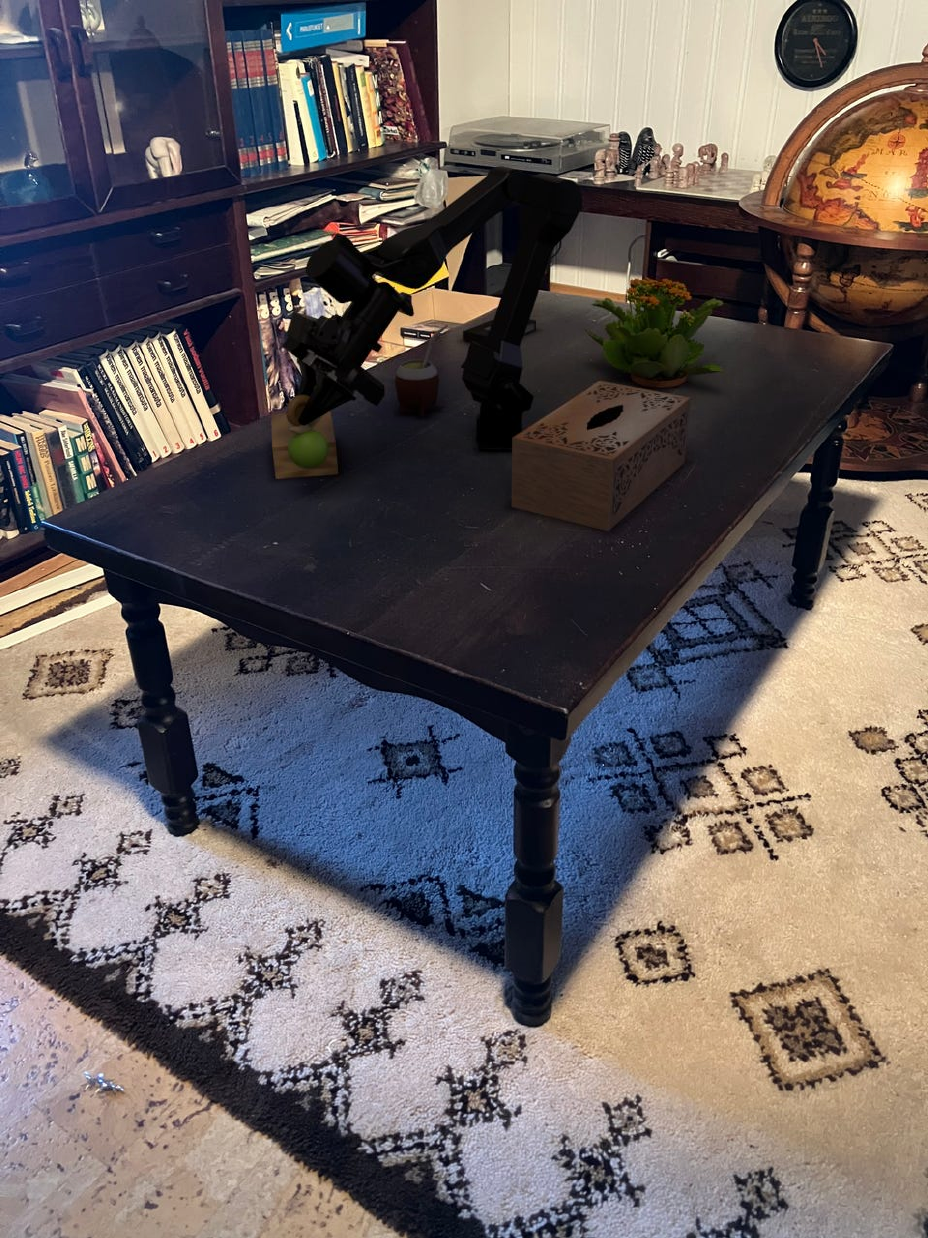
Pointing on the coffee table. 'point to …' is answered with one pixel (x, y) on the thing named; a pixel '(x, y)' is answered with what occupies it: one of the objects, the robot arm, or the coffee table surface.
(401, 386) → the mate gourd
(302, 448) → the snail figurine
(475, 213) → the robot arm
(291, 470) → the tan rectangular block
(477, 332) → the vhs tape
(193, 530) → the coffee table surface
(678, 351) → the potted flower
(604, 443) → the tissue box cover
